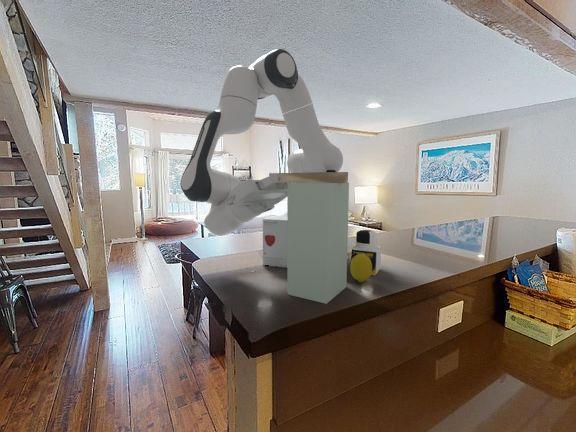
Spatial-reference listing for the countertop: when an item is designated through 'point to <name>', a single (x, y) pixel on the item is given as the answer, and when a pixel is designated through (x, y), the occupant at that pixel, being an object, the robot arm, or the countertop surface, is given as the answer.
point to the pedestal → (317, 240)
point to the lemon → (361, 267)
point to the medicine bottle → (368, 248)
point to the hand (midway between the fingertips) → (285, 176)
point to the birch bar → (313, 177)
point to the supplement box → (275, 241)
